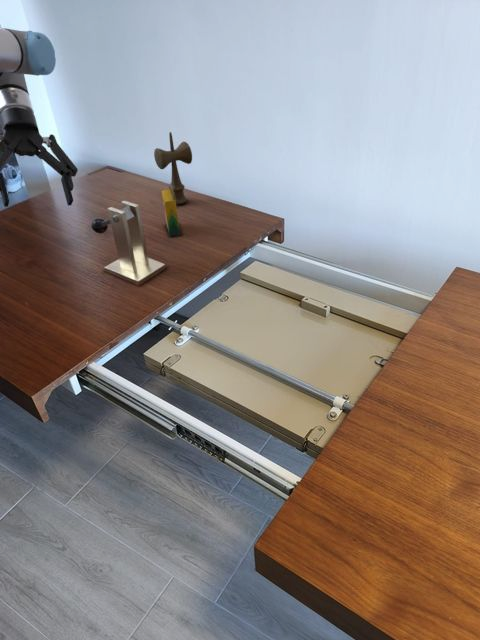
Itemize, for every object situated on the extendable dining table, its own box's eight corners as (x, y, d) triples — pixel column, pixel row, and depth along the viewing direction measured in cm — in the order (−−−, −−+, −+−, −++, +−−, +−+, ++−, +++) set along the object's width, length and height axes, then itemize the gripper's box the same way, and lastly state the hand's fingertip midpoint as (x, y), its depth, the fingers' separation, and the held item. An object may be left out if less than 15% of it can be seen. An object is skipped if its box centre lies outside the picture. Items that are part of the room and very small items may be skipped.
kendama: (197, 201, 142) (191, 131, 128) (169, 210, 137) (159, 137, 124) (187, 195, 145) (180, 126, 132) (159, 203, 141) (149, 132, 128)
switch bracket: (105, 271, 111) (89, 207, 101) (132, 255, 117) (120, 193, 107) (139, 285, 107) (126, 220, 97) (166, 268, 113) (156, 205, 102)
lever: (93, 237, 111) (85, 223, 110) (105, 231, 113) (97, 217, 112) (126, 223, 101) (117, 208, 100) (138, 217, 104) (130, 202, 102)
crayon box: (166, 224, 130) (160, 183, 122) (176, 223, 131) (171, 182, 123) (169, 237, 125) (163, 194, 117) (180, 235, 125) (175, 193, 118)
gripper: (-47, 99, 98) (-22, 196, 97) (76, 111, 112) (98, 195, 111) (-47, 120, 104) (-24, 212, 103) (69, 129, 118) (90, 209, 117)
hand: (39, 203), depth 107 cm, fingers open, 13 cm apart
